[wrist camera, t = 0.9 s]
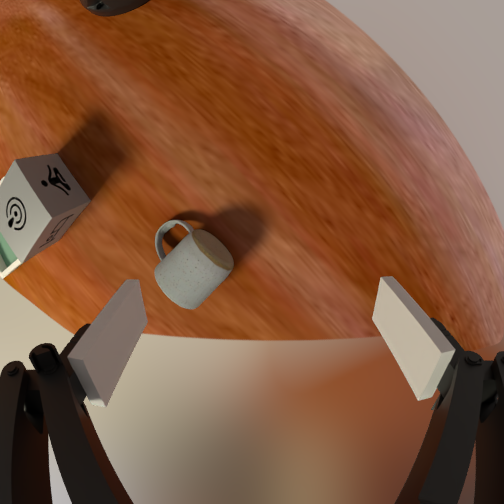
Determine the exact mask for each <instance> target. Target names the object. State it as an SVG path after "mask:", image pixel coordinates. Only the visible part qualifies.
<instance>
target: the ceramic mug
mask: <svg viewBox="0 0 504 504" xmlns="http://www.w3.org/2000/svg"><path fill="white" fill-rule="evenodd" d="M175 224H181V225H182V226H184V227H185V228H186V229H187V230H188V231H189V234H188V235H187V236H186V237H185V238H183V240H182V241H181V242H180V243H179V244H178V245H177V246H176V247H175V248H174V249H173V250H172V251H171V252H170V253H169V254H168V255H167V256H166V255H165V253H164V250H163V247H162V238H163V236H164V234H165V233H166V232H167V231H168V230H169V229H170V228H172V227H174V226H175ZM155 246H156V251H157V254H158V256H159V258H160V260H161V262H160V263H159V264H158V265H157V266H156V268H155V278H156V281H157V283H158V285H159V286H160V288H161V289H162V291H163V292H164V293H165V294H166V295H167V297H169V298H170V299H171V300H172V301H173V302H175V303H176V304H178V305H179V306H181V307H183V308H186V309H195V308H197V307H198V306H199V305H200V304H201V303H202V302H203V301H204V300H205V299H206V298H207V297H208V296H209V295H210V294H211V293H212V292H213V291H214V290H215V289H216V288H217V287H218V285H219V284H221V283H222V282H223V281H224V280H225V279H226V278H227V276H228V275H229V273H230V272H231V271H232V269H233V267H234V261H233V258H232V256H231V254H230V252H229V251H228V250H227V248H226V247H225V246H224V245H223V244H222V243H221V242H220V241H219V240H218V239H217V238H216V237H214V236H213V235H212V234H210V233H209V232H207V231H205V230H201V229H196V230H194V229H193V227H192V226H191V225H189V224H188V223H186V222H184V221H181V220H170V221H168V222H166V223H164V224H163V225H162V226H161V227H160V228H159V230H158V231H157V233H156V237H155Z"/></svg>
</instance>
